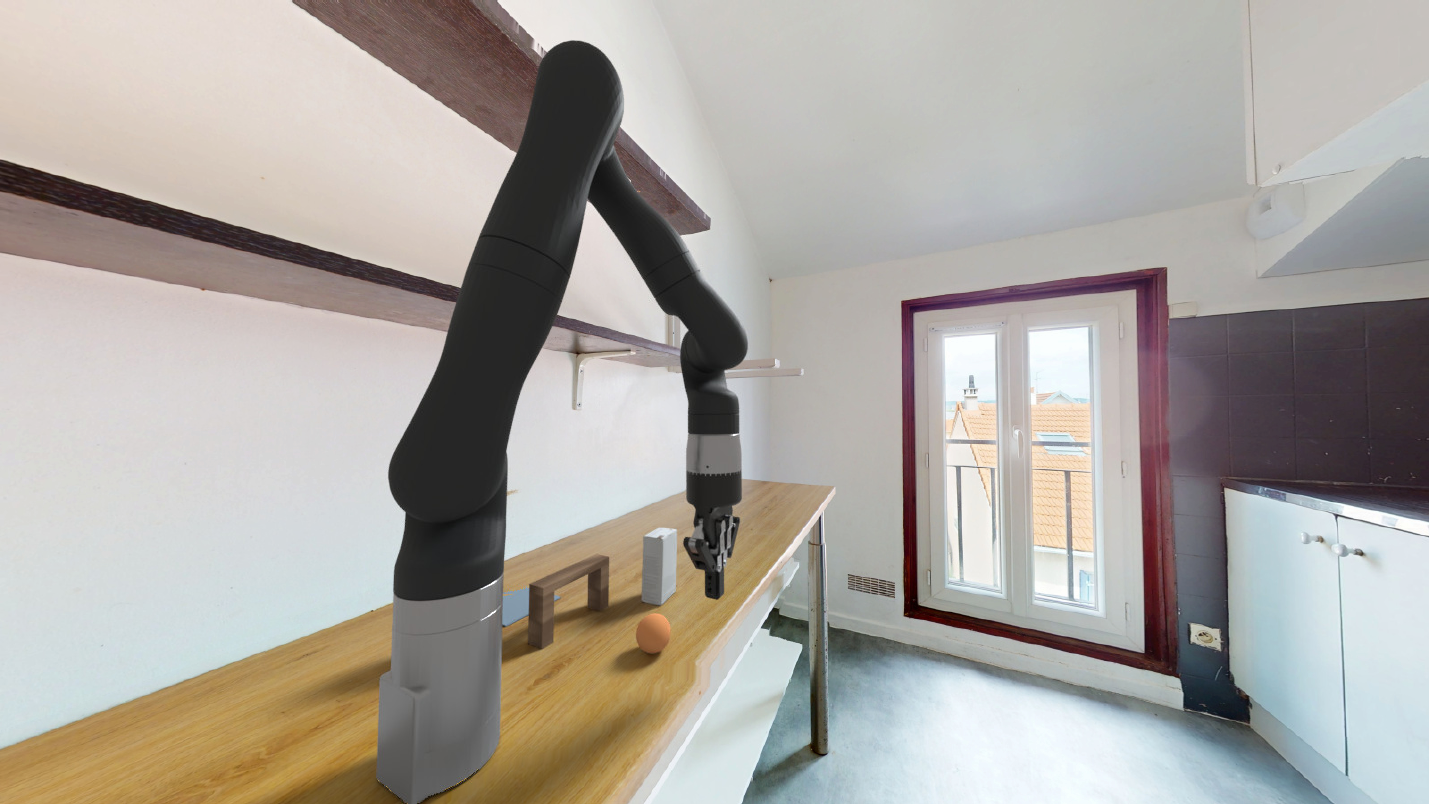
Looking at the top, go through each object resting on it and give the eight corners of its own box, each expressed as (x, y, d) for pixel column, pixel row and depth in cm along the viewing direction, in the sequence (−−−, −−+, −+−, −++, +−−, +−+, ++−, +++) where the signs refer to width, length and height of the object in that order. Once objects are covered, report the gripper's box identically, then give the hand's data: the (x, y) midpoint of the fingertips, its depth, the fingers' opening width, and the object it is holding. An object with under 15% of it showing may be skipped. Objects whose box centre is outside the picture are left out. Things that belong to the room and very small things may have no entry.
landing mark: (505, 626, 62) (506, 625, 62) (463, 610, 67) (463, 609, 67) (560, 597, 72) (560, 596, 72) (520, 585, 77) (520, 584, 77)
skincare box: (656, 588, 76) (657, 526, 77) (677, 592, 75) (678, 528, 75) (640, 603, 70) (641, 535, 71) (662, 607, 69) (663, 538, 69)
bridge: (608, 606, 69) (609, 556, 69) (542, 649, 56) (543, 588, 57) (595, 602, 70) (596, 553, 71) (527, 643, 58) (529, 584, 58)
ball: (657, 665, 53) (658, 628, 53) (628, 655, 55) (628, 619, 55) (677, 646, 57) (677, 611, 58) (649, 637, 60) (649, 604, 60)
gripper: (717, 476, 45) (718, 627, 45) (756, 462, 57) (757, 582, 57) (663, 472, 49) (663, 613, 48) (711, 460, 60) (711, 573, 60)
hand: (714, 596), depth 53 cm, fingers closed
